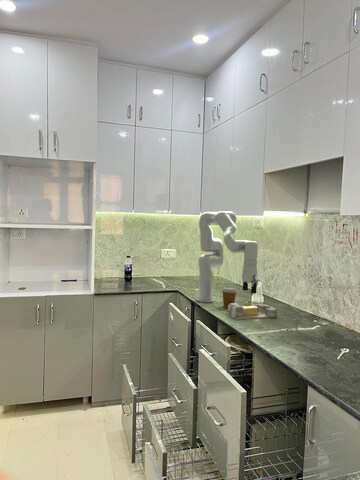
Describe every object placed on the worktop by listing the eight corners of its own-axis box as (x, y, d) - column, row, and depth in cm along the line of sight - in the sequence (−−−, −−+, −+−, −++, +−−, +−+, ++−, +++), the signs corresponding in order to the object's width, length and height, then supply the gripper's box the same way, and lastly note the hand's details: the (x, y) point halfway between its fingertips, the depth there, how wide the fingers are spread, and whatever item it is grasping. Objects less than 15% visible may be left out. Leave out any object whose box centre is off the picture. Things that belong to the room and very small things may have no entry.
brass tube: (232, 313, 214) (232, 306, 214) (254, 312, 219) (254, 305, 219) (235, 315, 210) (236, 308, 210) (258, 314, 215) (258, 307, 215)
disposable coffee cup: (238, 306, 236) (239, 288, 235) (232, 309, 228) (233, 290, 227) (224, 304, 241) (225, 286, 240) (218, 307, 233) (219, 288, 232)
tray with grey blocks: (225, 313, 218) (225, 302, 218) (263, 311, 227) (264, 300, 226) (236, 319, 205) (236, 308, 205) (276, 317, 214) (277, 305, 213)
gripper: (237, 260, 220) (236, 289, 221) (252, 264, 204) (251, 294, 205) (248, 260, 223) (247, 288, 223) (264, 264, 206) (263, 294, 207)
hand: (249, 291), depth 214 cm, fingers open, 9 cm apart
